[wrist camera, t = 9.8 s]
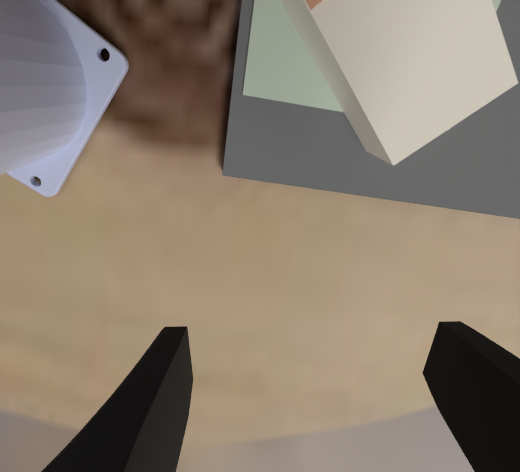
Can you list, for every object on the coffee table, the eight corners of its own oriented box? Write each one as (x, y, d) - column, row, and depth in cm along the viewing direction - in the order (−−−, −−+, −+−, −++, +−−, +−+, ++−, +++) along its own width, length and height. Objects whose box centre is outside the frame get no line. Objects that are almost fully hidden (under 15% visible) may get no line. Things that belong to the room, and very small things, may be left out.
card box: (463, 83, 14) (520, 82, 11) (365, 150, 15) (394, 166, 12) (378, -133, 11) (427, -213, 8) (263, -29, 12) (269, -65, 9)
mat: (223, 172, 16) (222, 175, 16) (269, -244, 10) (271, -266, 10) (595, 227, 19) (608, 232, 18) (807, -88, 13) (836, -97, 12)
